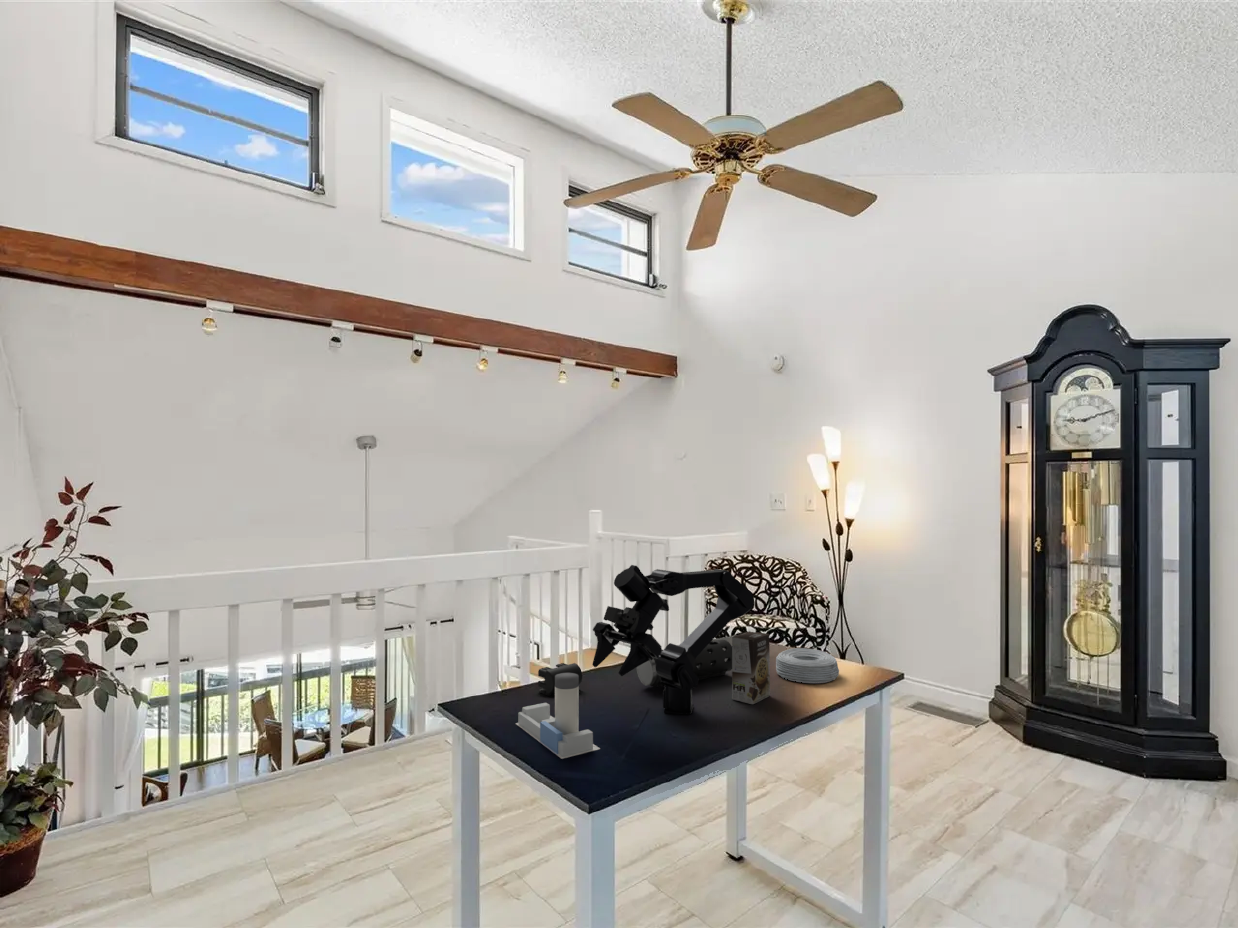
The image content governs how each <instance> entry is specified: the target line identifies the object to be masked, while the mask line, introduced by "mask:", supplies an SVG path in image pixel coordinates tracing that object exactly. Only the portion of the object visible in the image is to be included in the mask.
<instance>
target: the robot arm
mask: <svg viewBox="0 0 1238 928" xmlns="http://www.w3.org/2000/svg"><path fill="white" fill-rule="evenodd" d="M613 581H614V582H613V585H614V586H615V587H616V589H617V590H618V591H619V592H620V593H621V594H622V595H623V596H624V597H625V598H626V599H627V601H628V602H631V603H634V605H633V606H632V607H628V606H625V608H624V609H622V608H618V607H614V606H609V605H607V607H606V609H605V613H604V616H603V620H604V621H606V622H603V621H600V622H595V623H596V624H595V625H594V626H593V628H592V632H594V635H595V637H596V642H597V644H596V649H595V653H594V656H593V660H592V667H593V668H597V667H598V666H600V665H601V664H602V663H603V661H605V659H607V658H608V657H609V655H611V654H612V653H613V652H614V651H615V650H616V647H615V646H617V645H618V644H619V643H620V642H622V643H625V644H628V645H630V646H629V648H630V650H629V652H628V654H627V656H626V657H625V659H624V660H623V663H622V664H621V666H620V669H619V670H618V671H619V672H618V675H619V676H620V677H623V676H625V675H627V674H628V673H629V672H631V671H632V670H635V669H637V667H638V666H640V665H641V664H643V663H645V662H647V661H649V660H651V661H652V660H653V658H656V659H657V660H656V672H657V674H658V675H659V677H660V681H661V682H664V683H666V685H665V687H664V689H663V691H662V708H663V713H664V714H674V715H675V714H676V715H687V716H688V715H689V716H690V715H691V714H692V711H693V709H694V704H693V689H694V688H697V687H698V684H699V680H700V679H699V678H698V677H697V676H696V675H695V674H694V673H693V672H692V671H693V669H694V665H695V660H696V657H697V656H698V655H699V654H700V653H701V652H702V651H703V650H704V649H705V648H706V646H707V645H708V644H709V643H710V642H711V641H714V639H715V638H716V637H717V636H718V635H719V634H720V632H721V631H722V630H723V629H724V628H726V626H727V625H728V624H729V623H730V622H731V621H732V620H736V619H738V618H740V617H743V616H744V615H746V614H748V612H749V611H750V610H752V609H753V607H754V602H755V601H754V600H755V599H754V595H753V592H752V591H751V590H749V589H747V587H746V585H744V584H743V583H742V582H740V581H739V580H738V579H736V578H735V576H734V575H733V574H732V573H731V572H730V571H729V570H727V569H726V570H724V569H718V568H714V569H710V570H708V569H707V570H697V571H685V572H679V571H678V572H677V571H672V570H666V569H665V570H664V569H658V568H657V569H653V570H652V572H651V574H648V575H644V574H643V572H642V570H641V569H640V567H638V566H637V565H634V564H631V565H630V566H629V567H628V568H625V569H623V570H622V571H621V572H620V573H618V574H617V575H616V577H615V578H614V580H613ZM710 587H711V588H712V587H714V591H715V593H716V595H717V596H718V597H717V598H716V599H717V600H716V605H715V608H714V609H713V610H712V611H711V612H710V613H708V615H707V616H706V617H705V618H704V619H703V620H702V621H701V622H700V624H698V625H697V627H696V628H695V629H694V630H693V631H692V632H691V633H690V634H689V635H688V636H687V637H686V638H685V639H684V640H683V641H682V642H681V643H680V644H676V643H672V642H671V643H668V644H667V645H666V647H665V648H664V649H662V645H661V644H660V643H659V641H657V639H656V638H655V637H654V636H653V634H650V633H647V631H648V630H649V631H652V630H653V628H654V625H653V624H652V623H653V622H654V620H655V618H656V617H657V615H658V613H659V612H660V611H665V612H670V607H669V604H668V599H667V598H662V597H661V595H664V596H669V597H674V596H677V595H680V594H683V593H684V592H686V591H687V590H691V589H697V588H698V589H700V588H710ZM607 621H608V622H611V623H614V624H613V625H612V624H610V623H608V622H607ZM613 626H614V627H613ZM616 629H617V630H616ZM662 650H663V651H662ZM659 655H660V656H659Z"/></svg>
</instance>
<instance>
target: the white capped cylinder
mask: <svg viewBox="0 0 1238 928" xmlns="http://www.w3.org/2000/svg"><path fill="white" fill-rule="evenodd" d="M579 686H580V685H579V676H578V675H577V674H575V673H560V674H557V675H555V694H554V718H555V728H556V729H558V730H559V731H560V732H562V735H566V734H570V733H575V732H579V727H580V726H579V722H580V721H579V720H580V716H579V715H580V714H579V712H580V711H579V710H580V709H579V706H580V705H579V704H580V703H579V695H580V694H579V693H580V691H579V690H580V687H579Z"/></svg>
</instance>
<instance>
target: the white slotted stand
mask: <svg viewBox="0 0 1238 928" xmlns="http://www.w3.org/2000/svg"><path fill="white" fill-rule="evenodd" d="M517 716H518V720H517V721H518V722H516V723H515V725H516V726H518V727H519V728H521V729H522V730H523V731H524V732H526V733H527V734H528V735H530V736H531V737H532V738H533V739H535V740H536V741H538V742H539V743H540V744H542V745H543V746H544V747H545V748H547V749H548V750H549V751H551V752H552V753H553V754H555V755H556V756H557V757H559V758H560V759H562V760H563V759H567V758H570V757H574V756H579V755H583V754H587V753H590V752H595V751H598V750H601V748H600V747H598V745H595V744H594V732H593V731H592V730H590V729H583V730H580V731H579V732H575V733H570V734H566V735H562V732H560V731H559V730H558V729H556V728H555V717H554V716H552V715H551V704H549V703H547V702H543V703H542V702H541V703H537V704H533V705H527V706H523V707H522V709H521V711H519V712H518V714H517Z"/></svg>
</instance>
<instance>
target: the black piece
mask: <svg viewBox="0 0 1238 928" xmlns="http://www.w3.org/2000/svg"><path fill="white" fill-rule="evenodd" d="M560 673H575V674H577V675H578V676H579V686H580V685H581V684H582V682H583V672H582V669H581V667H580V665H578V664H577V663H575V662H574V663H573V662H572V663H570V664H568V663H567V664H566V663H564V662H561V663H557V664H555V667H554V668H552V667H548V666H545V667H541V668H539V669H538V672H537V676H538V677H540V678H543V679H544V681H541V680H538V681H537V686H538V687H539V688H540V689H539V691H538V692H539V693H540V694H542V695H545V696H547V697H549V696H553V695H555V675H557V674H560Z"/></svg>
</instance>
